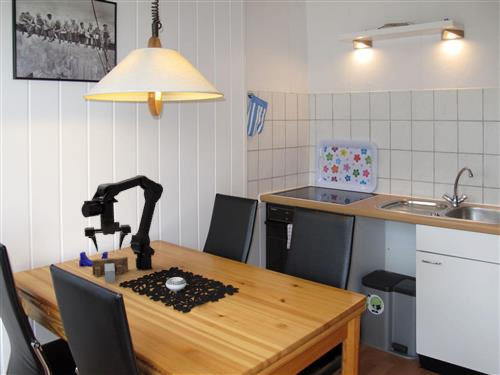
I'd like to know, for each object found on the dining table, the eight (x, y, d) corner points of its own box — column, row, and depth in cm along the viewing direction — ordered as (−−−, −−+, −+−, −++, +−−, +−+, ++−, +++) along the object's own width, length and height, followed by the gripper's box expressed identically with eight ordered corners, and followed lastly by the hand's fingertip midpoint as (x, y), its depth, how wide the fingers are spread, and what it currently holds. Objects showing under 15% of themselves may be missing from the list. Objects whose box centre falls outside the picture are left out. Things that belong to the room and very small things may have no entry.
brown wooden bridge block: (127, 269, 231) (127, 256, 230) (129, 273, 225) (128, 260, 224) (92, 273, 226) (92, 259, 225) (93, 277, 220) (92, 263, 219)
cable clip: (79, 267, 237) (78, 254, 236) (82, 264, 241) (82, 251, 240) (105, 266, 237) (104, 254, 236) (108, 264, 241) (107, 251, 240)
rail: (114, 274, 225) (114, 263, 224) (115, 282, 214) (114, 270, 213) (105, 275, 224) (104, 263, 223) (105, 283, 212) (104, 271, 212)
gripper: (84, 219, 205) (86, 257, 207) (132, 215, 211) (133, 252, 213) (83, 214, 216) (85, 250, 218) (128, 211, 222) (130, 246, 224)
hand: (108, 250), depth 218 cm, fingers open, 9 cm apart
